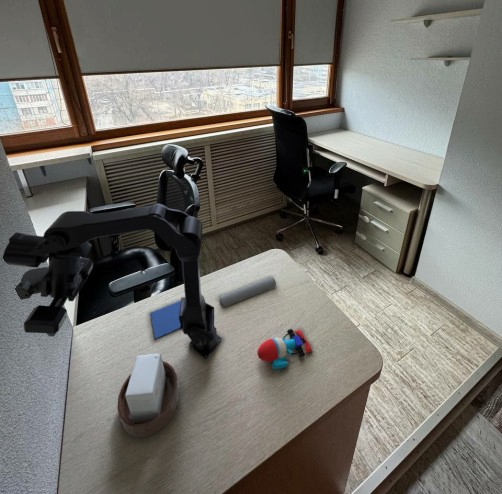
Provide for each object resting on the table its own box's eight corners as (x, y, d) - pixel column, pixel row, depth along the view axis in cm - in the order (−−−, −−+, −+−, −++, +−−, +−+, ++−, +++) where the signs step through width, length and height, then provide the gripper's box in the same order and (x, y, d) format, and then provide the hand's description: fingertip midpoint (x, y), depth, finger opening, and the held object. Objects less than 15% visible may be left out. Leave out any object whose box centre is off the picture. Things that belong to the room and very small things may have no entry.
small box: (143, 382, 65) (136, 354, 61) (167, 379, 66) (161, 352, 62) (133, 424, 58) (123, 396, 54) (159, 421, 58) (152, 393, 54)
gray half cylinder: (218, 297, 88) (218, 293, 87) (271, 277, 95) (271, 274, 95) (222, 308, 84) (222, 304, 84) (277, 286, 92) (277, 282, 91)
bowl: (190, 393, 64) (188, 381, 62) (144, 454, 54) (140, 443, 52) (156, 361, 70) (154, 349, 68) (110, 410, 61) (105, 399, 59)
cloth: (194, 295, 89) (194, 295, 89) (203, 318, 81) (203, 317, 81) (150, 313, 83) (150, 312, 83) (155, 339, 75) (154, 338, 75)
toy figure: (297, 332, 78) (251, 346, 72) (301, 320, 77) (254, 334, 70) (312, 359, 72) (262, 377, 66) (317, 347, 70) (266, 365, 64)
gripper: (46, 235, 66) (45, 283, 71) (-10, 299, 49) (-6, 356, 54) (95, 240, 68) (91, 286, 73) (58, 303, 51) (56, 358, 56)
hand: (62, 317), depth 64 cm, fingers open, 9 cm apart
